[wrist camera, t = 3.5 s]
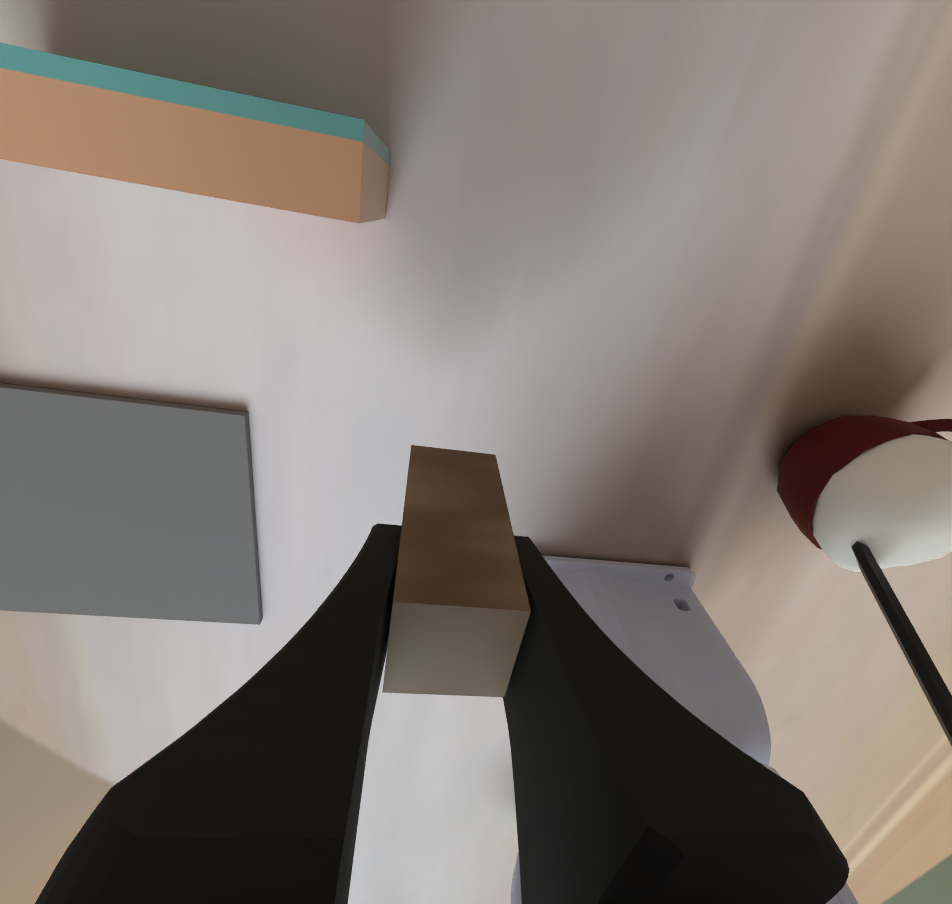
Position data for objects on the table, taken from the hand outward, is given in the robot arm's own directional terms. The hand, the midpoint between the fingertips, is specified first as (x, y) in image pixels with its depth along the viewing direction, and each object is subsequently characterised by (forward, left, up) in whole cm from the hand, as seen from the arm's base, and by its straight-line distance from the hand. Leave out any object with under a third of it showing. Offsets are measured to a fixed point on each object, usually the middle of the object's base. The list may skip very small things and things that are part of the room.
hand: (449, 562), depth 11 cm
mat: (+14, +7, -9) cm, 18 cm away
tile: (+8, -8, -9) cm, 15 cm away
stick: (0, 0, -3) cm, 3 cm away
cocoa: (-18, 0, -10) cm, 20 cm away
